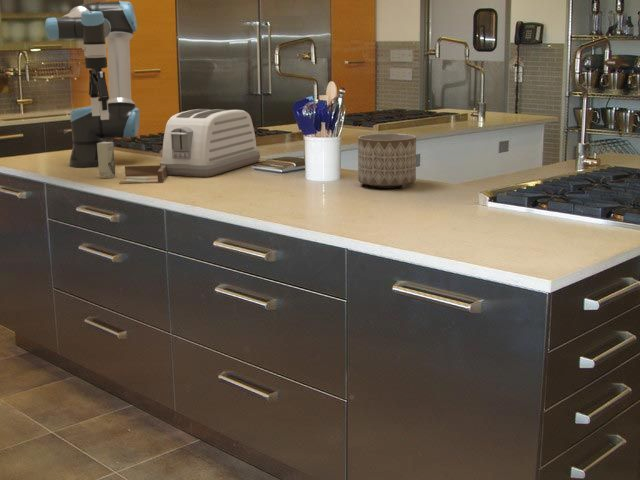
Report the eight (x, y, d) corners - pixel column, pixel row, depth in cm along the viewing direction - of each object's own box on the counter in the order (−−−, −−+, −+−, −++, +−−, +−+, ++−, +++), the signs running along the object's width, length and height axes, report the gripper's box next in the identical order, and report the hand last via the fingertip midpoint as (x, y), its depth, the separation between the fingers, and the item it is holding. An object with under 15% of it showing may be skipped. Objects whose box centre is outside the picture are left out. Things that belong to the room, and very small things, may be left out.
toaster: (152, 176, 327) (148, 115, 322) (214, 159, 367) (212, 104, 362) (205, 179, 318) (202, 117, 313) (263, 161, 358) (261, 106, 353)
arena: (126, 176, 326) (125, 166, 326) (167, 175, 327) (166, 164, 326) (119, 183, 312) (118, 172, 311) (162, 182, 312) (161, 171, 312)
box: (110, 178, 323) (107, 143, 320) (98, 178, 324) (96, 143, 321) (116, 176, 328) (113, 141, 325) (105, 176, 329) (102, 141, 326)
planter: (348, 183, 304) (348, 135, 300) (398, 178, 312) (398, 131, 308) (374, 192, 287) (374, 141, 283) (426, 187, 294) (426, 137, 291)
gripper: (77, 55, 319) (82, 114, 325) (92, 58, 298) (97, 122, 303) (98, 54, 323) (102, 113, 328) (114, 57, 301) (119, 120, 306)
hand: (100, 117), depth 316 cm, fingers open, 13 cm apart
